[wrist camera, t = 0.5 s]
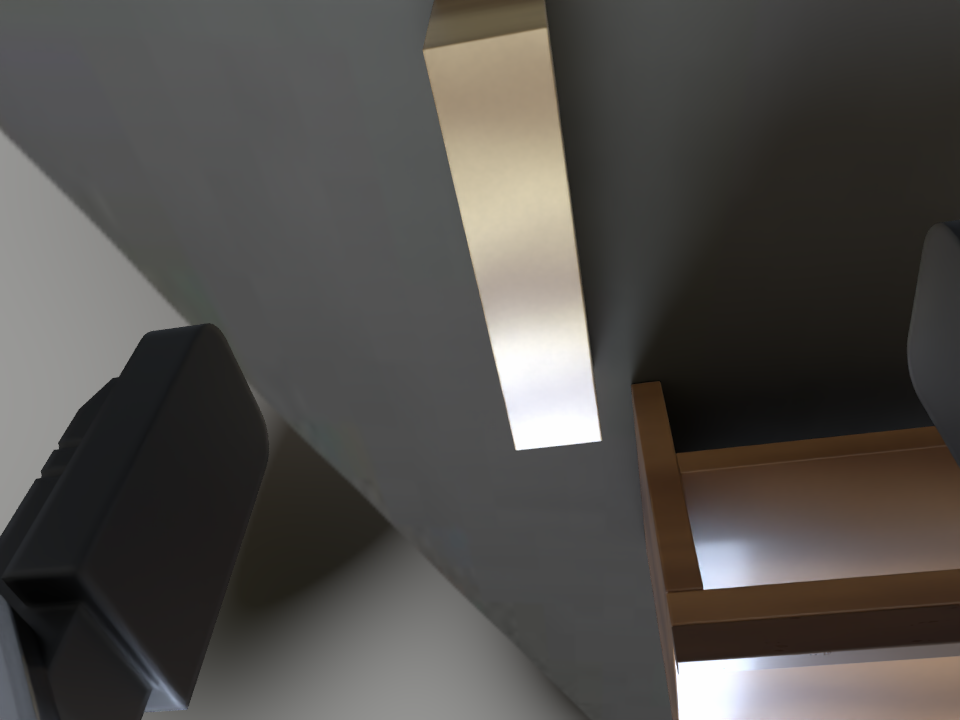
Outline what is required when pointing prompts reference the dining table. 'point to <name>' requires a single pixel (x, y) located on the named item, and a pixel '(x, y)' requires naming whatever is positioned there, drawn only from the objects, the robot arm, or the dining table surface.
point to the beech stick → (516, 209)
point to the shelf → (804, 573)
